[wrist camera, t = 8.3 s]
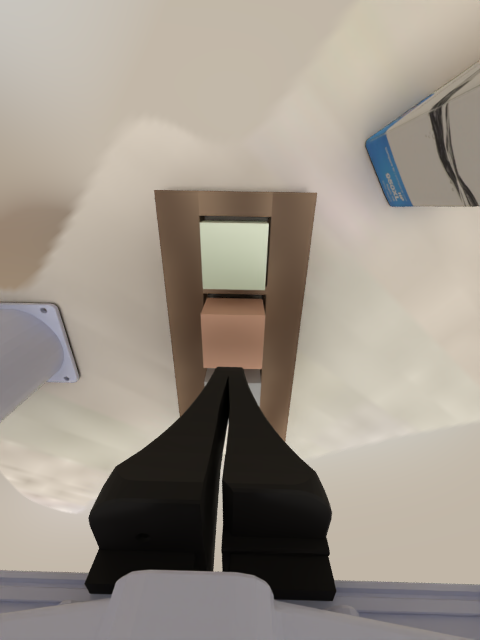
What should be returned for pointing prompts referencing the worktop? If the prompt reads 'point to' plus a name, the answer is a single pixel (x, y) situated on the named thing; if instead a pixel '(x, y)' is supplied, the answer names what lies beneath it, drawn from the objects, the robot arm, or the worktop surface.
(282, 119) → the worktop surface
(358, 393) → the worktop surface
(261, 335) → the terracotta key
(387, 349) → the worktop surface
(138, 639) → the robot arm
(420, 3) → the worktop surface
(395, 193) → the ink box
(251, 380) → the grey key
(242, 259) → the pale green block
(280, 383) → the brown wooden long tray
